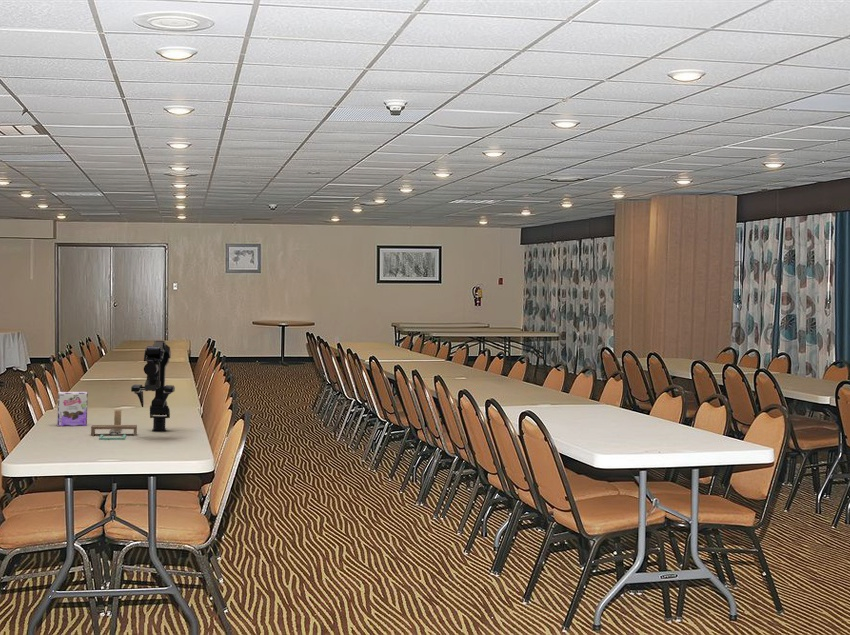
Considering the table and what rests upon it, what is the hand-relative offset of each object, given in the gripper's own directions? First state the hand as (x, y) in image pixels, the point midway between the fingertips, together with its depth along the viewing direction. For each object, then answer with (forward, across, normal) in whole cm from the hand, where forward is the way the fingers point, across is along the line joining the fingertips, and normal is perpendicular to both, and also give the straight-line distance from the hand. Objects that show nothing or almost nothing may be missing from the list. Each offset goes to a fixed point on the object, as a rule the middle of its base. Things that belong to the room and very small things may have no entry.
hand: (152, 407), depth 458 cm
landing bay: (+14, -17, -4) cm, 22 cm away
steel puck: (+14, -18, +5) cm, 24 cm away
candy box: (+15, -46, +35) cm, 60 cm away
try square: (+15, -21, +21) cm, 33 cm away
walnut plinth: (+14, -18, +5) cm, 24 cm away
